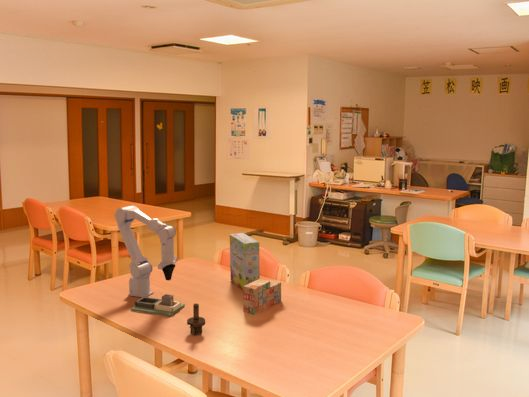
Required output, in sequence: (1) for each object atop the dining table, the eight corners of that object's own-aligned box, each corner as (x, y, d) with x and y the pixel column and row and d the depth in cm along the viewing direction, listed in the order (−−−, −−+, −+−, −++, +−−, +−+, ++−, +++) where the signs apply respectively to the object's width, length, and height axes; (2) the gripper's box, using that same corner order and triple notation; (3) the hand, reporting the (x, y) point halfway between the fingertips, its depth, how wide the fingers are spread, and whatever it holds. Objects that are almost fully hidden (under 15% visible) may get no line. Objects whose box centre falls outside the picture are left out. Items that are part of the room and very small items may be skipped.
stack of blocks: (270, 298, 242) (270, 273, 240) (281, 301, 238) (281, 276, 236) (243, 311, 225) (243, 285, 223) (254, 315, 221) (254, 288, 219)
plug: (161, 308, 225) (161, 296, 224) (165, 305, 228) (165, 294, 228) (169, 309, 224) (169, 297, 223) (173, 306, 227) (173, 295, 226)
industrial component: (193, 338, 198) (193, 309, 196) (183, 332, 203) (182, 304, 201) (212, 331, 204) (212, 303, 202) (202, 326, 209) (201, 298, 207)
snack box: (228, 281, 266) (228, 233, 262) (244, 278, 270) (243, 232, 266) (244, 294, 247) (244, 243, 243) (260, 291, 251) (260, 241, 247)
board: (131, 310, 225) (130, 304, 225) (147, 300, 238) (147, 294, 237) (170, 316, 219) (169, 310, 218) (184, 306, 231) (184, 299, 230)
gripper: (166, 256, 227) (167, 285, 229) (182, 248, 240) (183, 276, 242) (153, 255, 229) (154, 283, 231) (169, 247, 243) (170, 274, 245)
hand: (168, 279), depth 237 cm, fingers closed
